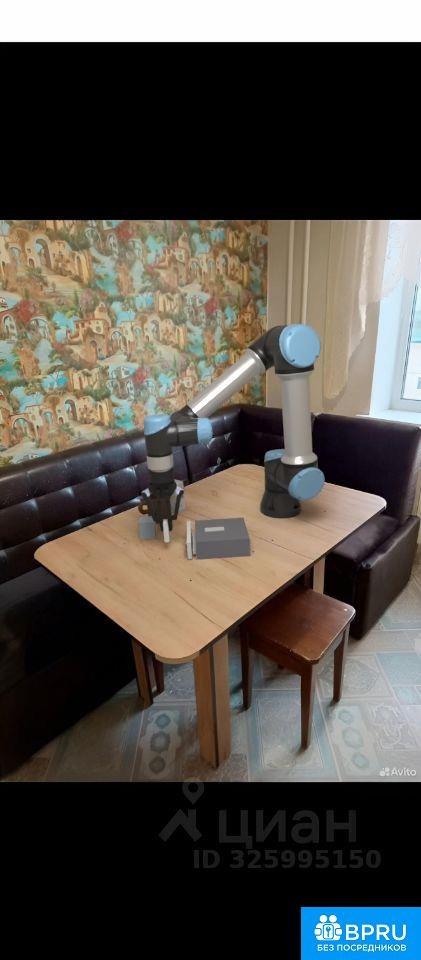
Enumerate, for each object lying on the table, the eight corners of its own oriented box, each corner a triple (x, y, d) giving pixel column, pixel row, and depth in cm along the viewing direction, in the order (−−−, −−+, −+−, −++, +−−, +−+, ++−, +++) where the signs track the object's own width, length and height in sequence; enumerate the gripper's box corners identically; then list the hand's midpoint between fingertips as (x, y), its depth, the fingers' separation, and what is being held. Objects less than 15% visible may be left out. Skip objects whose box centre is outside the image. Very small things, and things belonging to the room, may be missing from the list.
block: (156, 531, 140) (154, 515, 138) (155, 538, 135) (153, 522, 133) (142, 532, 140) (140, 516, 138) (140, 539, 135) (138, 523, 133)
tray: (236, 532, 135) (235, 517, 133) (241, 555, 121) (241, 539, 119) (186, 536, 135) (185, 521, 133) (186, 559, 121) (185, 542, 119)
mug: (146, 530, 141) (144, 505, 138) (134, 524, 146) (131, 499, 143) (173, 519, 149) (171, 495, 146) (161, 513, 154) (158, 490, 151)
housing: (243, 533, 135) (243, 516, 133) (250, 555, 121) (249, 537, 119) (195, 536, 135) (194, 520, 133) (196, 559, 121) (195, 541, 119)
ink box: (161, 509, 158) (158, 481, 154) (169, 505, 161) (167, 477, 158) (177, 514, 153) (174, 485, 149) (186, 509, 156) (183, 481, 152)
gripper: (183, 463, 122) (188, 533, 130) (139, 465, 122) (147, 536, 130) (182, 470, 115) (188, 544, 123) (136, 473, 115) (145, 547, 123)
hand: (167, 540), depth 126 cm, fingers closed
